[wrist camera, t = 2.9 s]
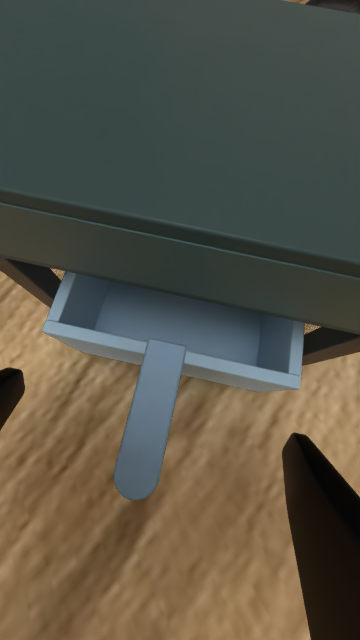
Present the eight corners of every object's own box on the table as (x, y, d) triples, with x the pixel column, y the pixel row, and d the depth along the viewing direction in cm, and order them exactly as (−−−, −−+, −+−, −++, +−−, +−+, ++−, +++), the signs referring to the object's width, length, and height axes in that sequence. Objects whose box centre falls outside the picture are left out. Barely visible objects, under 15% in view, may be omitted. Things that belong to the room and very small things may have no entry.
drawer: (250, 463, 15) (368, 559, 6) (58, 418, 16) (-97, 446, 7) (274, 260, 19) (366, 139, 10) (123, 228, 20) (83, 84, 11)
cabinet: (290, 370, 17) (557, 307, 5) (64, 319, 18) (-155, 159, 6) (300, 251, 20) (489, 36, 8) (105, 210, 21) (14, -50, 9)
